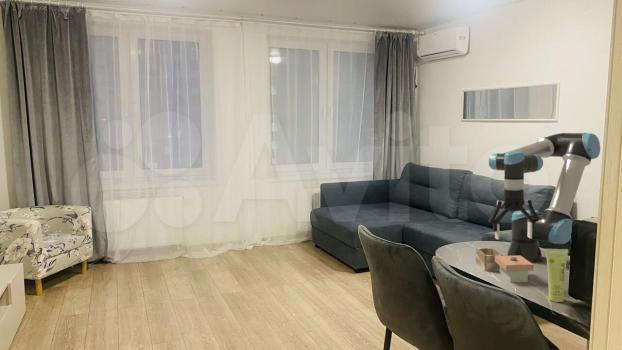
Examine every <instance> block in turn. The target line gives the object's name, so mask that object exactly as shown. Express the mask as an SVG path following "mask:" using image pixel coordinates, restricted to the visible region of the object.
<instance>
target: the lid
mask: <svg viewBox="0 0 622 350" xmlns="http://www.w3.org/2000/svg"><path fill="white" fill-rule="evenodd" d="M495 262H496V263H497V264H498V265H499V266H501V267H502V268H503V269H504V270H505V271H528V272H529V271H530V272H531V271H534V264H533V262H529V261H528V260H526V259H525V258H523V257H522V256H520V255H518V256H508V255H503V256H495Z"/></svg>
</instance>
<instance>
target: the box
mask: <svg viewBox="0 0 622 350" xmlns="http://www.w3.org/2000/svg"><path fill="white" fill-rule="evenodd" d="M495 256H504V254H502V253H501V252H500V251H498V250H497V249H496V248H494V247H476V248H475V264H476V265H478V266H479V267H480V268H481V269H482V270H483V271H485V272H490V271H491V272H493V271H494V272H496V271H499V272H500V266H499V265H498V264H497V263H496V262H495Z"/></svg>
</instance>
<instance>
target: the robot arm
mask: <svg viewBox="0 0 622 350" xmlns="http://www.w3.org/2000/svg"><path fill="white" fill-rule="evenodd" d="M600 154H601V143H600V139H599V137H598V136H597V135H596V134H594V133H590V132H589V133H588V132H562V133H561V132H560V133H555V134H552V135H548V136H544V137H542V138H540V139H538V140H536V142H534V143H530V144H528V145H524V146H521V147H518V148H515V149H513V150H510V151H506V152H502V153H500V152H497V153H492V154H490V156H489V157H488V166H489V168H490V169H491V170H494V171H495V170H496V171H504V172H503V173H504V177H503V179H504V180H503V183H504V184H503V185H504V186H503V187H504V189H503V200H498V199H497V200H496V202H495V206H494V208H493V210H492V212H491V214H490V216H489V218H488V222H489V223H491V224H492V231H493V232H494V239H496V240H498V241H499V240H500V224H499V223H500V222H501V220H502V219H503V218H504V216H506V214H507V213H508V212H509V211H510V212H513V213H512V215H511V241H510V244H509V247H508V249H507V256H518V255H520V256H522V257H523V258H525V259H526V260H528V261H529V262H530V263H538V262H540V261H542V259H543V254H542V250H541V248H540V244H539V241H542V242H543V241H544V242H548V243H551V244H558V245H564V244H566V243H568V242H569V241H570V240H571V239H572V238H571V232H572V222H574V221H573V216H572V215H571V214H570V213H571V211H572V207H573V204H574V202H575V198H576V196H577V192H578V189H579V186H580V183H581V181H582V180H581V179H582V177H583V174H584V171H585V167H587V166H589V165H590V164H591V162H592V160H594V159H597V158H598V157H599V156H600ZM550 157H555V158H557V157H558V158H561V159H562V161H564V163H563V165H562V169H561V172H560V174H559V177H558V180H557V183H556V186H555V189H554V192H553V195H552V198H551V201H550V204H549V207H548V208H545V209H544V210H543V213H542V214H540V211H539V210H537V209H536V210H535V208H534V207H533V202H532V200H531V199H530V198H529V199H528V198H526V199H525V200H524V198H525V197H524V195H525V193H524V187H525V183H524V182H525V174H528V173H529V174H530V173H535V172H538V171H540V170H541V169H542V168H543V166H544V161H543V158H544V159H546V158H550ZM524 205H526V207H527V209H525V208H524V207H523V206H524ZM502 206H503V208H502V209H501V207H502ZM500 209H501V211H500ZM499 211H500V212H499Z"/></svg>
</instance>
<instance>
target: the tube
mask: <svg viewBox="0 0 622 350" xmlns="http://www.w3.org/2000/svg"><path fill="white" fill-rule="evenodd" d="M544 250H545V256H546V264H547V281H548V283H547V284H548V287H547V288H548V300H549V301H551V302H555V303H562V302H564V299H565V285H566V284H565V283H566V282H565V281H566V272H567V271H566V270H567V261H568V254H569V249H568V248H566V249H564V248H561V249H560V248H545V249H544Z"/></svg>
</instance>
